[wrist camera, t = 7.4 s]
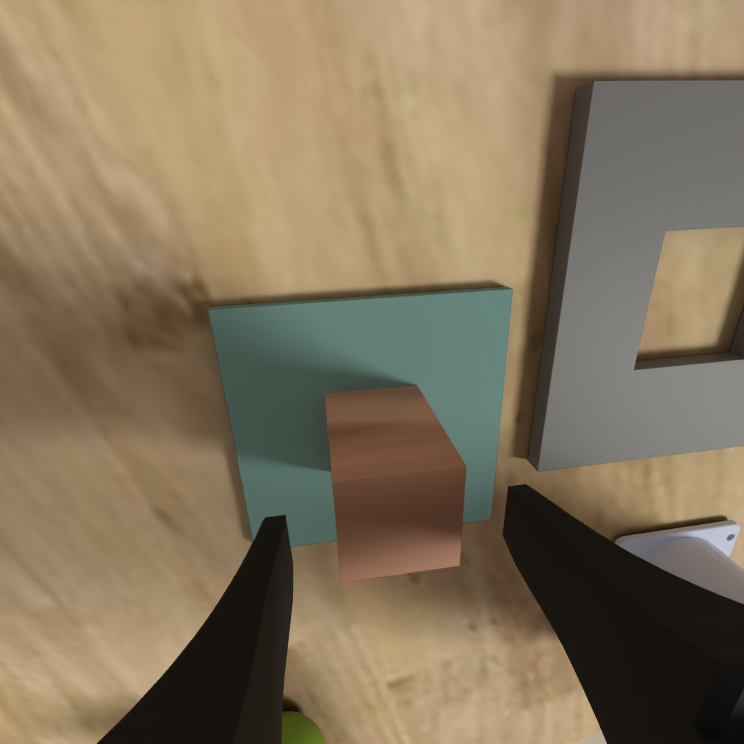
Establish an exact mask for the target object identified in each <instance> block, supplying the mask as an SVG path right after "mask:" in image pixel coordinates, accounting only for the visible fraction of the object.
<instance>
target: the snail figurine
mask: <svg viewBox="0 0 744 744" xmlns="http://www.w3.org/2000/svg"><path fill="white" fill-rule="evenodd" d="M282 744H326V741H325V739H324V736H323V734H322V732H321V731H320V729H319V728H318V726H317V725H316V724H315V723H314V722H313V721H312V720H311V719H310V718H308V717H307V716H305V715H303V714H301V713H298V712H294V711H283V712H282Z"/></svg>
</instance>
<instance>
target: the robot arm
mask: <svg viewBox="0 0 744 744" xmlns="http://www.w3.org/2000/svg"><path fill="white" fill-rule="evenodd" d="M739 531H740V525H739V524H737V523H736V522H735V521H733V520H728V521H721V522H715V523H708V524H701V525H695V526H688V527H681V528H675V529H668V530H661V531H655V532H648V533H641V534H635V535H628V536H622V537H620V538H618V539H617V540H616V541H615V543H613V542H612V541H610V540H608V539H607V538H605V537H604V536H602V535H600V534H599V533H597V532H595V531H594V530H592V529H591V528H589V527H588V526H586V525H585V524H583V523H582V522H580V521H579V520H577V519H576V518H574V517H573V516H571V515H570V514H568V513H567V512H565V511H564V510H562V509H561V508H560V507H558V506H557V505H555V504H554V503H552V502H551V501H550V500H548V499H547V498H545V497H544V496H542V495H541V494H540V493H538V492H537V491H535V490H534V489H532V488H531V487H529V486H528V485H526V484H524V485H516V486H508V492H507V501H506V510H505V519H504V528H503V537H504V539H505V541H506V544H507V546H508V548H509V551H510V553H511V555H512V558H513V560H514V562H515V564H516V566H517V568H518V570H519V571H520V573H521V575H522V577H523V578H524V580H525V582H526V583H527V585H528V587H529V589H530V590H531V592H532V594H533V595H534V597H535V599H536V600H537V602H538V604H539V605H540V607H541V609H542V611H543V612H544V614H545V616H546V617H547V619H548V621H549V622H550V624H551V626H552V627H553V629H554V631H555V633H556V634H557V636H558V638H559V640H560V642H561V644H562V645H563V647H564V649H565V651H566V654H567V656H568V658H569V660H570V662H571V664H572V666H573V668H574V670H575V672H576V675H577V677H578V679H579V681H580V683H581V685H582V687H583V690H584V692H585V694H586V696H587V699H588V701H589V703H590V705H591V707H592V710H593V712H594V714H595V716H596V718H597V721H598V723H599V725H600V728H601V730H602V733H603V735H604V737H605V740H606V742H607V744H744V570H743V569H742V568H741V567H740V566H739V565H738V564H736V563H735V562H734V561H733V560H732V559H730V558H729V556H730V553H731V551H732V548H733V546H734V543H735V541H736V538H737V536H738V533H739ZM292 603H293V560H292V553H291V547H290V540H289V533H288V527H287V520H286V515H280V516H272V517H265V519H264V520H263V521H262V523H261V525H260V528H259V530H258V532H257V534H256V537H255V539H254V541H253V543H252V545H251V547H250V549H249V551H248V553H247V555H246V557H245V558H244V560H243V562H242V564H241V566H240V567H239V569H238V571H237V573H236V575H235V576H234V578H233V580H232V581H231V583H230V585H229V586H228V588H227V589H226V591H225V593H224V594H223V596H222V597H221V599H220V601H219V602H218V604H217V605H216V607H215V608H214V610H213V611H212V613H211V614H210V615H209V617H208V618H207V620H206V621H205V623H204V624H203V625H202V627H201V628H200V629H199V631H198V632H197V633H196V635H195V636H194V637H193V639H192V640H191V641H190V643H189V644H188V645H187V646H186V648H185V649H184V650H183V651H182V653H181V654H180V655H179V656H178V658H177V659H176V660H175V661H174V662H173V664H172V665H171V666H170V667H169V668H168V670H167V671H166V672H165V673H164V674H163V675H162V677H161V678H160V679H159V680H158V681H157V682H156V683H155V684H154V685H153V686H152V687H151V689H150V690H149V691H148V692H147V693H146V694H145V695H144V696H143V697H142V698H141V699H140V701H139V702H138V703H137V704H136V705H135V706H134V707H133V708H132V709H131V710H130V711H129V712H128V713H127V714H126V715H125V716H124V717H123V718H122V719H121V720H120V721H119V722H118V723H117V724H116V725H115V726H114V727H113V728H112V729H111V730H110V731H109V732H108V733H107V734H106V735H105V736H104V737H103V738H102V739H101V740H100V741H99V742H98V743H97V744H282V711H283V689H284V676H285V667H286V658H287V649H288V640H289V631H290V622H291V612H292Z"/></svg>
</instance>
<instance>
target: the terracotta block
mask: <svg viewBox="0 0 744 744" xmlns="http://www.w3.org/2000/svg"><path fill="white" fill-rule="evenodd" d="M325 403H326V415H327V428H328V440H329V452H330V465H331V477H332V488H333V499H334V511H335V522H336V534H337V545H338V556H339V568H340V579H341V583H344V582H351V581H358V580H364V579H371V578H378V577H385V576H392V575H399V574H406V573H413V572H420V571H426V570H433V569H440V568H447V567H454V566H460V552H461V538H462V524H463V511H464V497H465V483H466V469H467V466H466V465H465V463H464V461H463V460H462V458H461V456H460V455H459V453H458V451H457V450H456V448H455V446H454V445H453V443H452V442H451V440H450V438H449V437H448V435H447V433H446V432H445V430H444V428H443V427H442V425H441V423H440V422H439V420H438V418H437V417H436V415H435V413H434V412H433V410H432V408H431V407H430V405H429V404H428V402H427V400H426V399H425V397H424V395H423V394H422V392H421V390H420V389H419V387H418V385H413V386H401V387H390V388H379V389H367V390H356V391H345V392H333V393H325Z"/></svg>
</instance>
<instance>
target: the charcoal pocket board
mask: <svg viewBox="0 0 744 744" xmlns="http://www.w3.org/2000/svg"><path fill="white" fill-rule="evenodd" d="M730 227H744V80H704V81H593V82H591V83H588V84H586V85H584V86H581V87H579V88H577V89H576V95H575V103H574V110H573V118H572V125H571V133H570V141H569V148H568V156H567V164H566V171H565V179H564V187H563V194H562V202H561V210H560V217H559V225H558V232H557V240H556V248H555V255H554V263H553V271H552V278H551V286H550V294H549V301H548V309H547V316H546V324H545V332H544V339H543V347H542V355H541V362H540V370H539V378H538V385H537V393H536V400H535V408H534V416H533V423H532V431H531V439H530V446H529V454H528V461H529V462H530V463H531V465H532V466H533V467H534V468H535V469H536V470H537V472H540V471H548V470H556V469H564V468H572V467H580V466H588V465H596V464H604V463H612V462H620V461H628V460H636V459H644V458H652V457H659V456H667V455H675V454H683V453H691V452H699V451H707V450H715V449H723V448H731V447H739V446H744V309H743V312H742V315H741V318H740V321H739V324H738V328H737V331H736V334H735V337H734V340H733V343H732V346H731V349H730V352H724V353H713V354H703V355H692V356H682V357H671V358H660V359H650V360H639V361H636V358H637V353H638V349H639V345H640V340H641V336H642V331H643V327H644V323H645V318H646V314H647V309H648V305H649V301H650V296H651V292H652V287H653V283H654V279H655V274H656V270H657V265H658V261H659V257H660V252H661V248H662V243H663V239H664V235H665V231H674V230H693V229H711V228H730Z"/></svg>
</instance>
